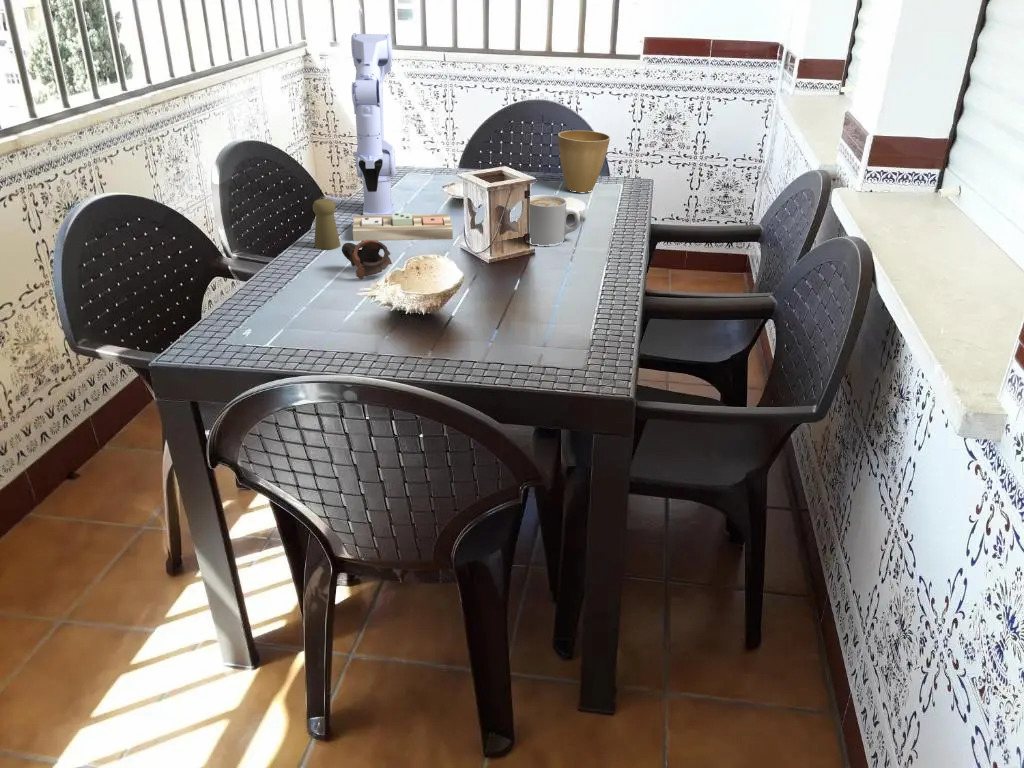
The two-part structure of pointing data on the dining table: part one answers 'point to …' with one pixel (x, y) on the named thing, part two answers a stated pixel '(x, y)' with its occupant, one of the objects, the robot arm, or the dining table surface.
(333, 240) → the cork
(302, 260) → the dining table surface
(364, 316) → the dining table surface
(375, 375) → the dining table surface
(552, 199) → the coffee mug
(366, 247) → the pottery mug
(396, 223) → the three dot key
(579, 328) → the dining table surface
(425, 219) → the one dot key
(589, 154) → the plant pot
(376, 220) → the two dot key
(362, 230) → the wooden puzzle board
